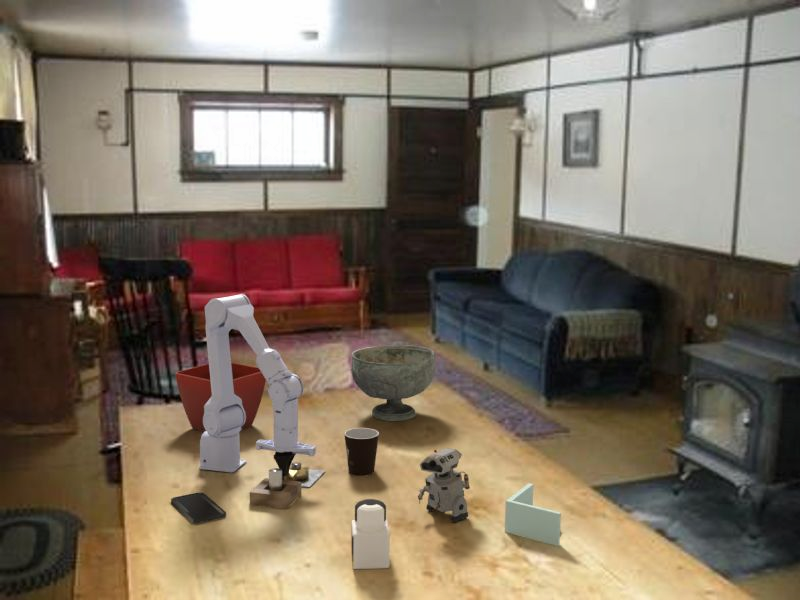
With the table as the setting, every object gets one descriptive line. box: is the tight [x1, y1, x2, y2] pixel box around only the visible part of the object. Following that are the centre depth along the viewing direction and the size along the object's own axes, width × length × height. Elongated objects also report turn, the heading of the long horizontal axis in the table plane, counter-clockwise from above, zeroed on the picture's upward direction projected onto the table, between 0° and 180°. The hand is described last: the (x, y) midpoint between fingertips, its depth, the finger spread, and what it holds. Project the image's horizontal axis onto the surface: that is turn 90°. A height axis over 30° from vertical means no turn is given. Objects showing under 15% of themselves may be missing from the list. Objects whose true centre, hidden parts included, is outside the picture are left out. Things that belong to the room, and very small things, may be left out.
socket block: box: [249, 477, 302, 510], centre depth 197 cm, size 9×9×3 cm
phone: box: [170, 491, 227, 525], centre depth 191 cm, size 8×1×15 cm
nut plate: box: [297, 468, 326, 489], centre depth 211 cm, size 11×11×1 cm
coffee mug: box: [344, 427, 380, 477], centre depth 216 cm, size 12×9×10 cm
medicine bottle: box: [350, 498, 391, 570], centre depth 167 cm, size 7×7×12 cm
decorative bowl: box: [350, 344, 436, 422], centre depth 261 cm, size 26×26×20 cm
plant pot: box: [175, 361, 267, 432], centre depth 248 cm, size 19×19×17 cm
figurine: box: [417, 447, 471, 524], centre depth 187 cm, size 9×12×15 cm
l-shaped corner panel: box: [504, 482, 562, 547], centre depth 183 cm, size 12×12×8 cm
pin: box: [268, 467, 282, 491], centre depth 197 cm, size 3×3×7 cm
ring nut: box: [284, 461, 310, 481], centre depth 208 cm, size 6×10×3 cm, turn 171°
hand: (285, 480), depth 206 cm, fingers closed, pressing on ring nut
